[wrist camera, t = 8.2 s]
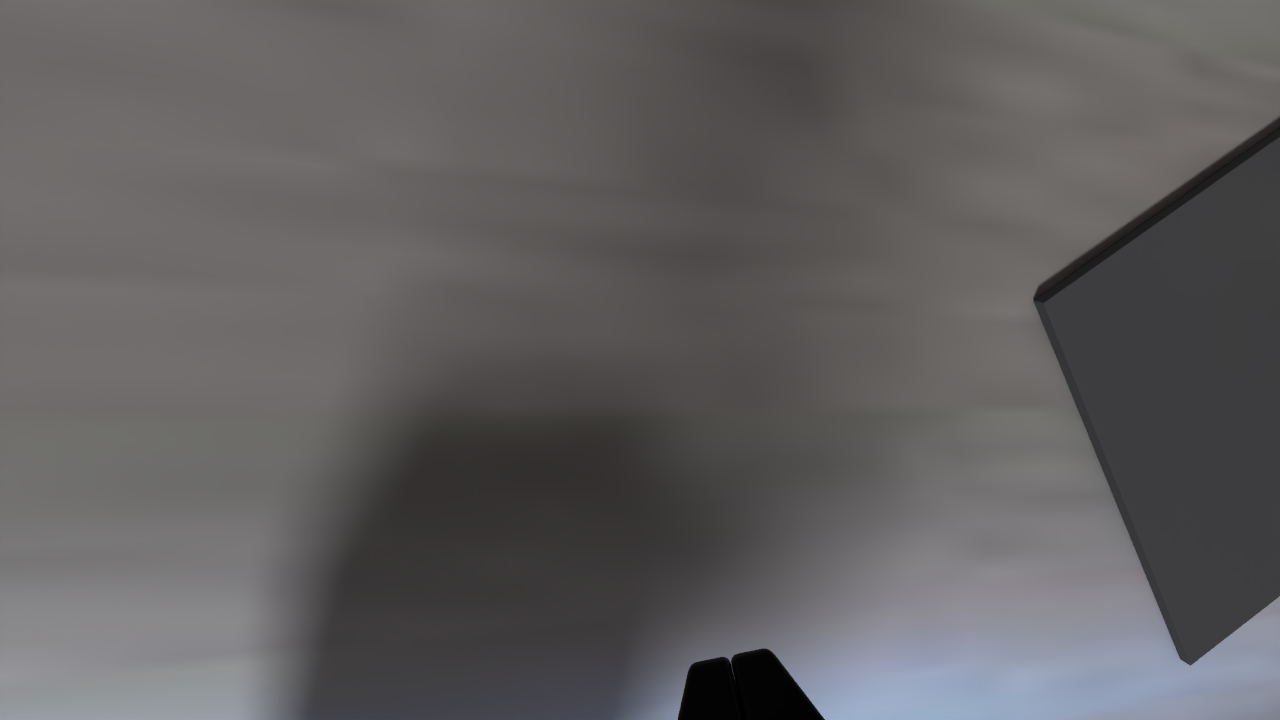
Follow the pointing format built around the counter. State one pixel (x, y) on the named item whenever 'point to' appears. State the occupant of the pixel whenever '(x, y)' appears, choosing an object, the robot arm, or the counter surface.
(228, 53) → the counter surface
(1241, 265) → the rubber mat
